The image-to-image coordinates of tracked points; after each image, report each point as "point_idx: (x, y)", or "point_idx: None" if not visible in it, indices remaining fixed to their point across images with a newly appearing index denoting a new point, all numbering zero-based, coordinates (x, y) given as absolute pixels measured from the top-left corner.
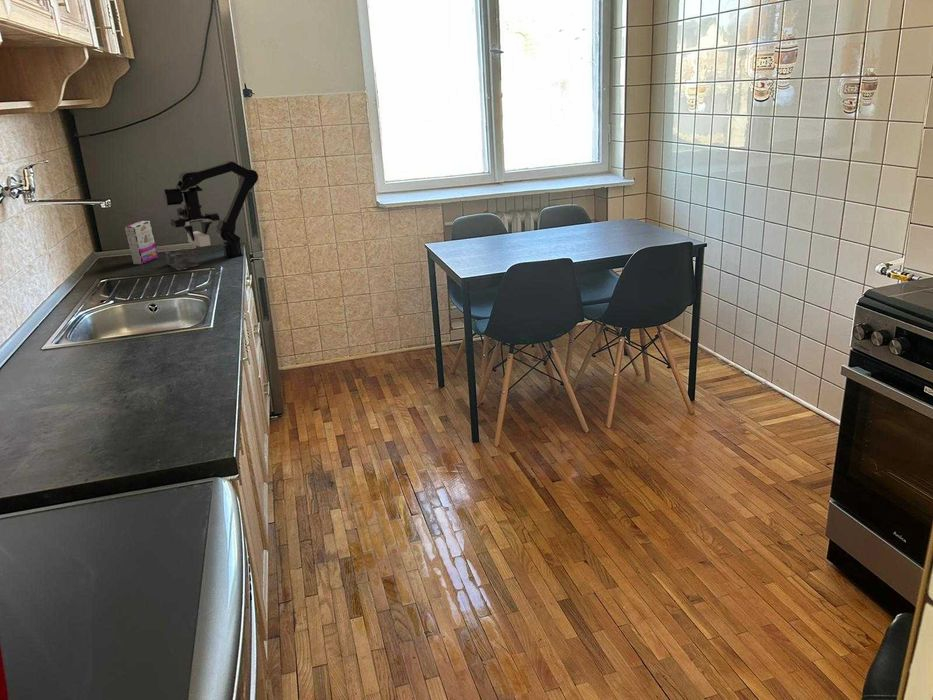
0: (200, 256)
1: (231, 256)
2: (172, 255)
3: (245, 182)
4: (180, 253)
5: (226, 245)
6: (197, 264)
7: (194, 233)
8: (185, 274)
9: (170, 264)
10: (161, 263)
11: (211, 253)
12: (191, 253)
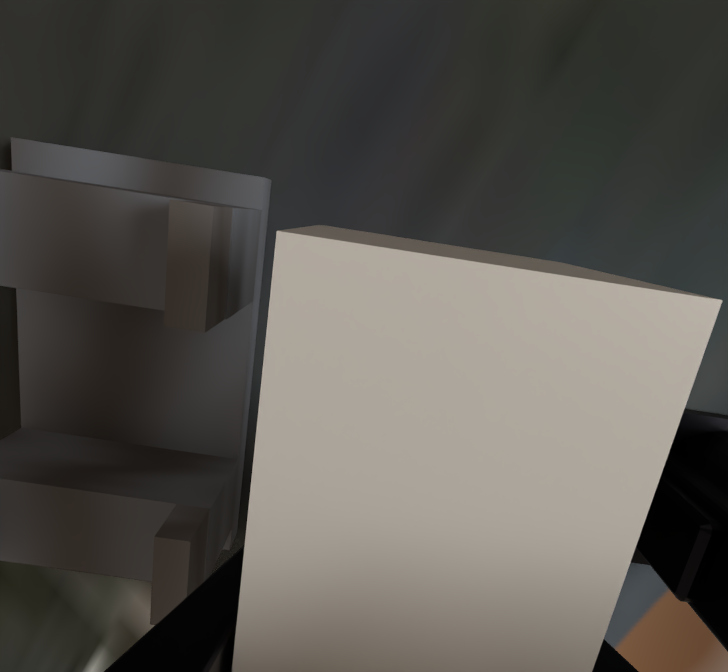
0: (501, 163)
1: (635, 549)
2: (12, 247)
3: None
4: (149, 247)
5: (710, 627)
6: (223, 548)
7: (398, 559)
8: (35, 643)
9: (17, 289)
10: (7, 15)
11: (675, 153)
12: (152, 589)
